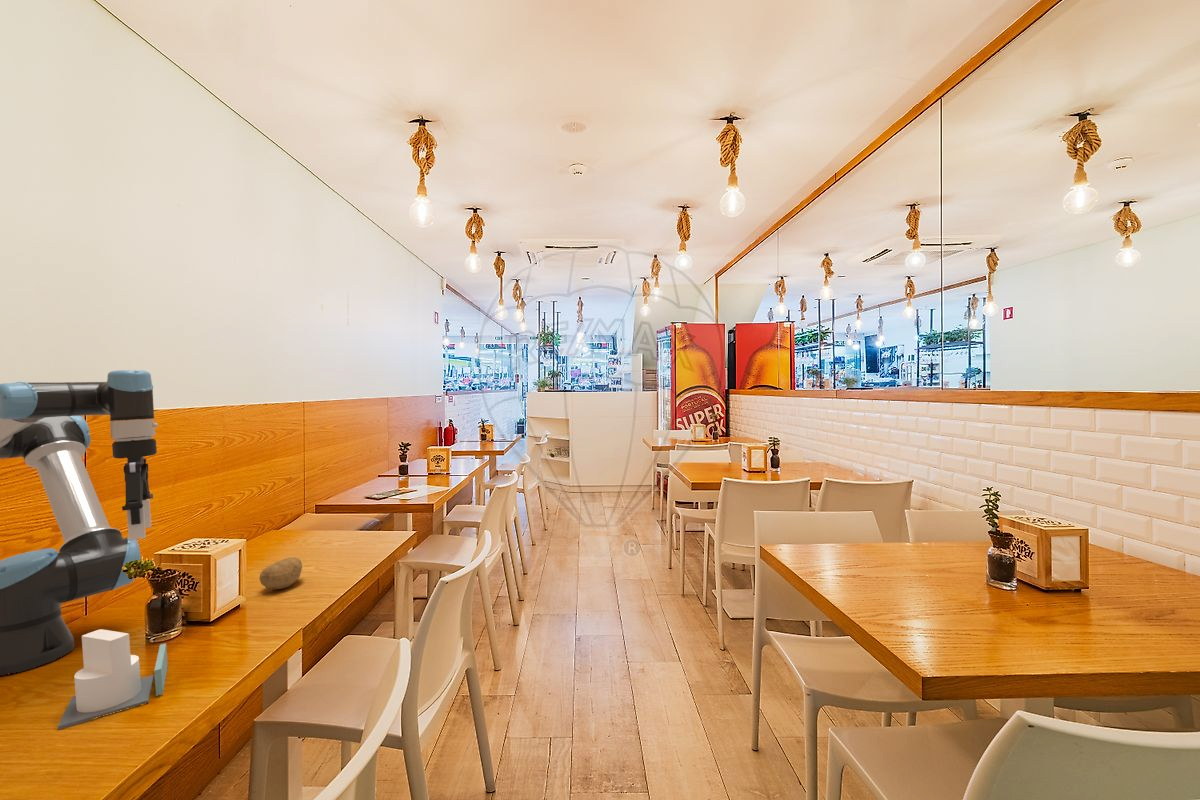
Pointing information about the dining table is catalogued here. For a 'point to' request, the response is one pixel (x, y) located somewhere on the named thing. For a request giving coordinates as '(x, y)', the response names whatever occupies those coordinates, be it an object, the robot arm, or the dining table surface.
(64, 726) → the coaster
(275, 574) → the potato
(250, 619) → the dining table surface
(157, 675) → the panel
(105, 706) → the cylinder with rectangular tab
